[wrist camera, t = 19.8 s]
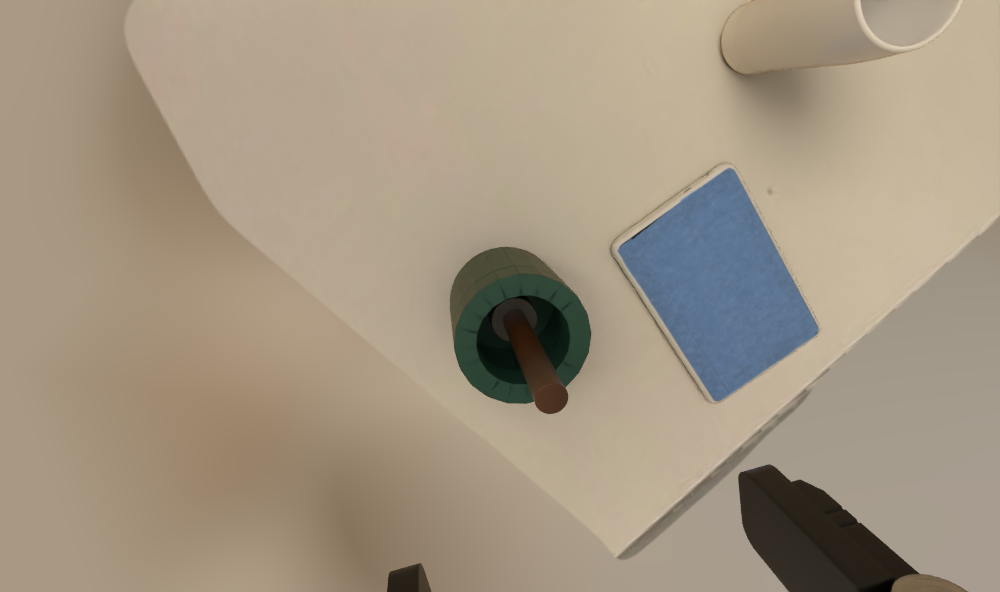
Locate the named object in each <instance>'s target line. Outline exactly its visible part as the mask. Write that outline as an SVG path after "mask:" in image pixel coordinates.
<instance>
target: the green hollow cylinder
mask: <svg viewBox="0 0 1000 592" xmlns="http://www.w3.org/2000/svg"><path fill="white" fill-rule="evenodd" d="M517 296H527V297H528V298H529V300H530V302H531V303H532V305H533V306H534V308H535V310H536V312H537V316H538V322H537V326H536V329H535V330H534V332H535V334H536V336H537V338H538V339H539V341H540V343H541V345H542V347H543V348H544V350H545V352H546V354H547V356H548V357H549V359H550V361H551V363H552V365H553V367H554V368H555V370H556V372H557V374H558V376H559V377H560V379H561V381H562V383H563V385H564V386H565V387H566V386H567V385H568V384H569V383H570V382H571V381H572V380H573V379H574V378H575V376H576V375H577V374H578V373H579V371H580V370H581V367H582V365H583V363H584V361H585V359H586V357H587V355H588V353H589V346H590V339H591V330H590V325H589V319H588V314H587V312H586V310H585V309H584V307H583V305H582V304H581V302H580V300H579V298H578V297H577V295H576V294H575V293H574V292H573V291H572V290H571V289H570V288H569V287H568V286H567V285H566V284H565V283H564V282H563V281H562V280H561V279H560V278H559V277H558V276H557V275H556V274H555V273H554V272H553V271H552V270H551V269H550V268H549V267H548V266H547V265H546V264H545V263H544V262H543V261H541V260H540V259H539V258H538V257H537V256H535V255H533V254H531V253H530V252H528V251H525V250H522V249H518V248H512V247H499V248H494V249H490V250H487V251H484V252H482V253H480V254H478V255H477V256H475V257H474V258H472V259H471V260H470V261H469V262H467V263H466V264H465V266H464V267H463V268H462V269H461V270H460V272H459V273H458V275H457V277H456V279H455V281H454V284H453V286H452V290H451V297H450V312H451V322H452V331H453V340H454V349H455V353H456V357H457V360H458V364H459V367H460V369H461V371H462V372H463V374H464V375H465V377H466V378H467V379H468V381H469V382H470V384H472V386H474V387H475V388H476V389H478V390H479V391H480V392H482V393H483V394H485V395H486V396H488V397H490V398H493V399H496V400H499V401H502V402H506V403H531V402H534V399H533V397H532V394H531V392H530V389H529V387H528V384H527V382H526V379H525V377H524V374H523V372H522V369H521V367H520V364H519V362H518V359H517V357H516V354H515V352H514V349H513V347H512V344H511V342H507V341H504V340H502V339H500V338H499V337H498V336H497V335H496V334H495V332H494V331H493V328H492V325H491V322H490V319H489V316H488V313H489V312H490V311H491V309H492V308H493V307H495V306H496V305H498V304H500V303H501V302H503V301H505V300H506V299H510V298H514V297H517Z"/></svg>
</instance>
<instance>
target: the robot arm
mask: <svg viewBox="0 0 1000 592" xmlns="http://www.w3.org/2000/svg"><path fill="white" fill-rule="evenodd" d="M738 480H739V492H740V503H741V513H742V523H743V527H744V530H745V533H746V535H747V538H748V540H749V541H750V543H751V545H752V546H753V548H754V549H755V550H756V552H757V553H758V554H759V555H760V557H761V558H762V559H763V560H764V562H765V563H766V564H767V565H768V566H769V568H770V569H771V570H772V571H773V573H774V574H775V575H776V576H777V577H778V579H779V580H780V581H781V582H782V584H783V585H784V586H785V587H786V589H787V590H788V591H789V592H967V591H966V590H964V589H963V588H962V587H960V586H958V585H956V584H954V583H952V582H950V581H948V580H945V579H942V578H939V577H935V576H931V575H925V574H919V573H918V572H917V571H916V570H914V569H913V568H912V567H911V566H910V565H909V564H907V563H906V562H905V561H904V560H903V559H902V558H901V557H899V556H898V555H897V554H896V553H895V552H894V551H892V550H891V549H890V548H889V547H888V546H887V545H886V544H884V543H883V542H882V541H881V540H880V539H879V538H878V537H876V536H875V535H874V534H873V533H872V532H871V531H869V530H868V529H867V528H866V527H865V526H864V525H862V524H861V523H858V522H857V520H856V519H855V518H854V517H853V516H852V515H851V514H850V513H849V512H848V511H846V510H843V509H842V506H841V505H839V504H838V503H837V502H836V501H835V500H834V499H832V498H831V497H830V496H829V495H828V494H827V493H826V492H824V491H823V490H821V489H819V488H817V487H815V486H813V485H811V484H808V483H806V482H804V481H802V480H797V481H793V482H791V481H790V480H788V479H787V478H786V477H785V476H784V475H783V474H782V473H781V472H780V471H779V470H778V469H776V468H775V467H774V466H772V465H765V466H762V467H758V468H755V469H751V470H748V471H744V472H741V473H740V474H739V477H738ZM387 592H431V589H430V586H429V583H428V580H427V577H426V574H425V571H424V568H423V566H422V564H421V563H419V564H416V565H412V566H408V567H405V568H401V569H398V570H395V571H391V572H390V573H389V577H388V589H387Z"/></svg>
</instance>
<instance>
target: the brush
mask: <svg viewBox="0 0 1000 592" xmlns="http://www.w3.org/2000/svg"><path fill="white" fill-rule="evenodd" d="M488 316H489V319H490V322H491V325H492V328H493V331H494V332H495V334H496V335H497V336H498V337H499V338H500V339H502V340H504V341H507V342H511V344H512V347H513V349H514V352H515V354H516V357H517V359H518V362H519V364H520V367H521V369H522V372H523V374H524V377H525V379H526V382H527V384H528V387H529V389H530V392H531V394H532V397H533V399H534V402H535V404H536V406H537V408H538V409H539V410H540V411H542V412H544V413H547V414H553V413H557V412H559V411H561V410H562V409H563V408H564V407H565V406H566V404H567V401H568V393H567V390H566V388H565V386H564V385H563V383H562V381H561V379H560V377H559V376H558V374H557V372H556V370H555V368H554V367H553V365H552V363H551V361H550V359H549V357H548V356H547V354H546V352H545V350H544V348H543V347H542V345H541V343H540V341H539V339H538V338H537V336H536V334H535V332H534V330H535V329H536V326H537V322H538V316H537V312H536V310H535V308H534V306H533V305H532V303H531V302H530V300H529V298H528V297H527V296H517V297H514V298H510V299H506V300H505V301H503V302H501V303H500V304H498V305H496V306H495V307H493V308H492V309H491V311H490V312H489V313H488Z"/></svg>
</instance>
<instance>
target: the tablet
mask: <svg viewBox="0 0 1000 592" xmlns="http://www.w3.org/2000/svg"><path fill="white" fill-rule="evenodd" d="M611 252H612V254H613V256H614V258H615V259H616V261H617V262H618V264H619V265H620V267H621V268H622V270H623V271H624V273H625V274H626V276H627V277H628V279H629V280H630V282H631V283H632V285H633V286H634V288H635V289H636V291H637V292H638V294H639V296H640V297H641V299H642V300H643V302H644V303H645V305H646V306H647V308H648V309H649V311H650V312H651V314H652V316H653V317H654V319H655V320H656V322H657V323H658V325H659V326H660V328H661V330H662V331H663V333H664V334H665V336H666V337H667V339H668V340H669V342H670V343H671V345H672V346H673V348H674V350H675V351H676V353H677V354H678V356H679V357H680V359H681V360H682V362H683V363H684V365H685V366H686V368H687V369H688V371H689V373H690V374H691V376H692V377H693V379H694V380H695V382H696V383H697V385H698V386H699V388H700V390H701V391H702V393H703V394H704V396H705V397H706V399H707V400H708V401H709V402H711V403H720V402H722V401H724V400H725V399H727V398H728V397H729V396H731V395H732V394H734V393H735V392H737V391H738V390H740V389H741V388H742V387H744V386H745V385H747V384H748V383H750V382H751V381H753V380H754V379H756V378H757V377H759V376H760V375H761V374H763V373H764V372H766V371H767V370H769V369H770V368H772V367H773V366H775V365H776V364H777V363H779V362H780V361H782V360H783V359H785V358H786V357H788V356H789V355H790V354H792V353H794V352H795V351H796V350H798V349H799V348H801V347H802V346H804V345H805V344H807V343H808V342H810V341H811V340H813V339H814V338H815V337H817V335H818V334H819V332H820V324H819V322H818V320H817V318H816V316H815V315H814V313H813V311H812V309H811V307H810V305H809V303H808V301H807V299H806V298H805V296H804V294H803V292H802V290H801V288H800V286H799V285H798V283H797V281H796V279H795V277H794V275H793V273H792V271H791V269H790V267H789V265H788V264H787V262H786V260H785V258H784V256H783V254H782V252H781V251H780V249H779V247H778V245H777V243H776V241H775V239H774V237H773V235H772V233H771V232H770V230H769V228H768V226H767V224H766V222H765V220H764V218H763V216H762V214H761V212H760V211H759V209H758V207H757V205H756V203H755V201H754V199H753V198H752V196H751V194H750V192H749V190H748V188H747V187H746V185H745V183H744V181H743V179H742V177H741V175H740V173H739V171H738V170H737V168H736V167H735V166H734V165H733V164H731V163H723V164H720V165H719V166H717V167H716V168H714V169H713V170H711V171H710V172H708V173H707V175H706V176H705V177H704V176H702V177H701V178H700V179H698V180H697V181H695V182H694V183H692V184H691V185H690V186H688V187H687V188H685V189H684V190H683V191H681V192H680V193H678V194H677V195H675V196H674V197H673V198H671V199H670V200H668V201H667V202H666V203H664V204H663V205H662V206H660V207H659V208H657V209H656V210H655V211H653V212H652V213H651V214H649V215H648V216H646V217H645V218H644V219H642V220H641V221H640V222H638V223H637V224H636V225H634V226H633V227H631V228H630V229H629V230H627V231H626V232H625V233H623V234H622V235H621V236H619V237H618V238H617V239H615V241H614V242H613V243H612V245H611Z"/></svg>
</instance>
